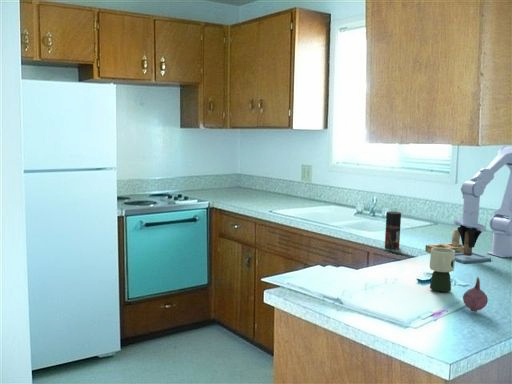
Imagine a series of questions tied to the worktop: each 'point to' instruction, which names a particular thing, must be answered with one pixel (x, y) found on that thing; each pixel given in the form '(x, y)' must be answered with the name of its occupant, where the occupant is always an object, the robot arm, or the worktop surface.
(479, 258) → the tray
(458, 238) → the birch dowel
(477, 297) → the vegetable
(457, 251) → the holder block
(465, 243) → the walnut dowel
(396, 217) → the deodorant
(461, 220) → the robot arm
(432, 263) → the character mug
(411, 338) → the worktop surface
